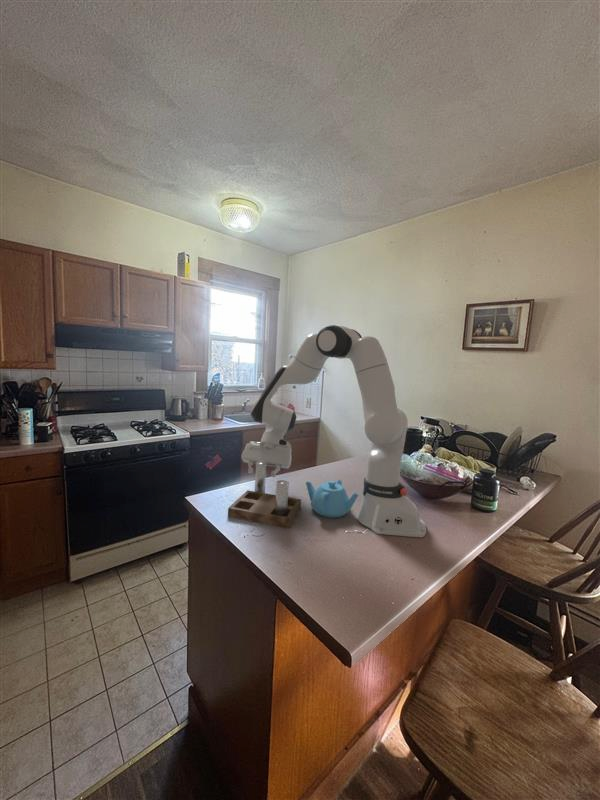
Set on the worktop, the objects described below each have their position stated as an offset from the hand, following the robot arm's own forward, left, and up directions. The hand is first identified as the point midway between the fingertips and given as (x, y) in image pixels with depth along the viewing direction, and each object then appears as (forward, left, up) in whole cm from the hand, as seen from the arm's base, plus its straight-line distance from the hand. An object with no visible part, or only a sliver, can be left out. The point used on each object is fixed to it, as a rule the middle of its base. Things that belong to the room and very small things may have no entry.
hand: (261, 474), depth 124 cm
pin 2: (-14, +17, -8) cm, 23 cm away
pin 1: (0, +1, -8) cm, 8 cm away
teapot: (-28, +3, -9) cm, 29 cm away
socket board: (-7, +13, -8) cm, 17 cm away
